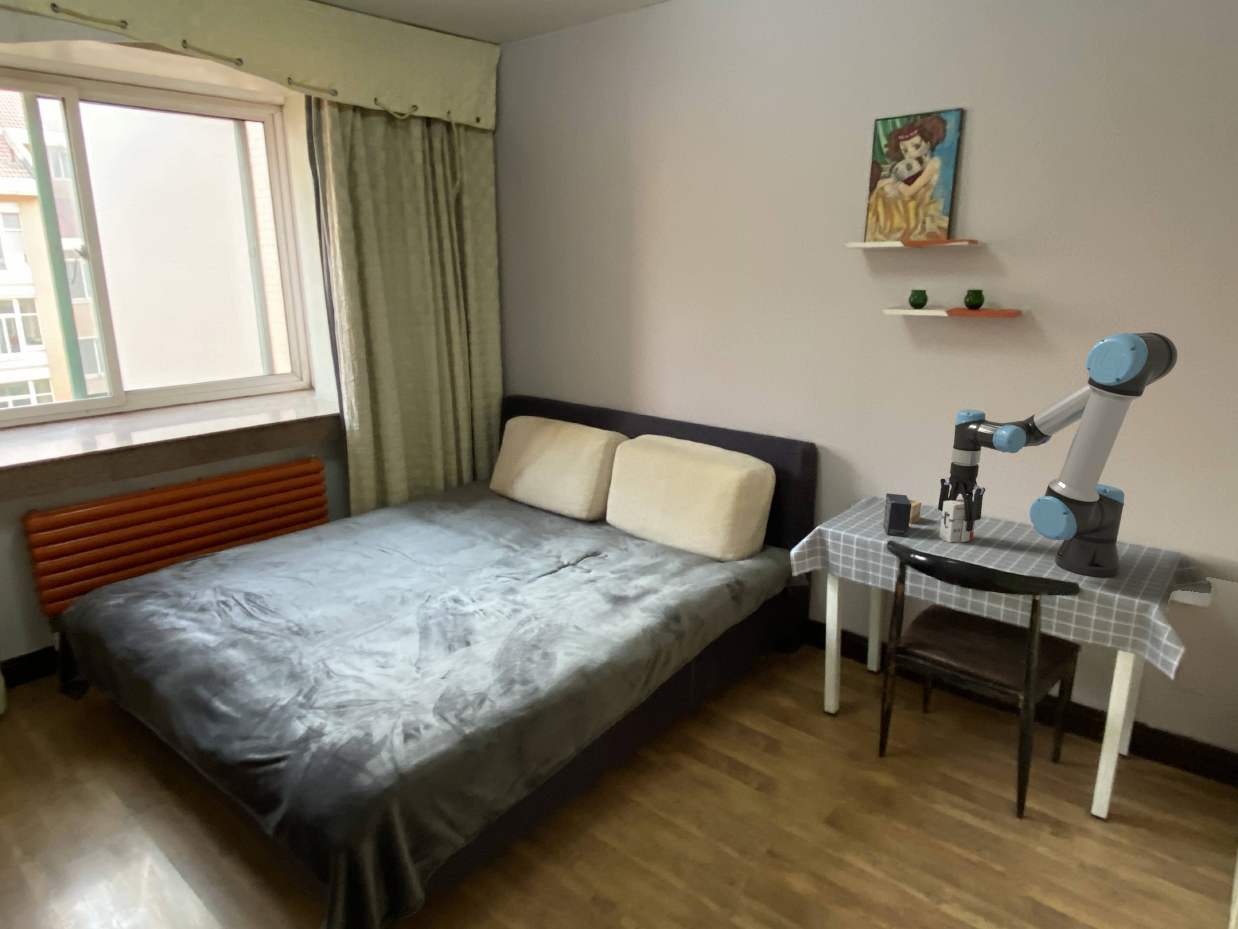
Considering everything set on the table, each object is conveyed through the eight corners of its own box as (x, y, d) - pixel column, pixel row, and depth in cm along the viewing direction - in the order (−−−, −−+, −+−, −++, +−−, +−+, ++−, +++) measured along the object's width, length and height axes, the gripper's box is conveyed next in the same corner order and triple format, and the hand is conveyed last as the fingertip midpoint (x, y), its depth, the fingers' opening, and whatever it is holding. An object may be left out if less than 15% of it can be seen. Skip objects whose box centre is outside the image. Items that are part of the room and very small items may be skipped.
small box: (909, 537, 230) (912, 503, 228) (886, 535, 232) (889, 502, 229) (903, 526, 241) (907, 494, 238) (882, 524, 242) (885, 492, 239)
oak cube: (919, 520, 247) (921, 502, 245) (911, 524, 243) (913, 506, 241) (901, 515, 251) (903, 498, 250) (893, 519, 247) (894, 501, 246)
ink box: (961, 534, 233) (966, 497, 230) (973, 540, 228) (978, 502, 225) (938, 537, 230) (942, 500, 227) (949, 543, 226) (954, 504, 223)
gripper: (1002, 468, 217) (991, 545, 223) (946, 455, 233) (938, 527, 239) (985, 471, 214) (975, 549, 219) (930, 457, 229) (921, 530, 235)
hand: (955, 537), depth 229 cm, fingers closed on ink box, 5 cm apart
